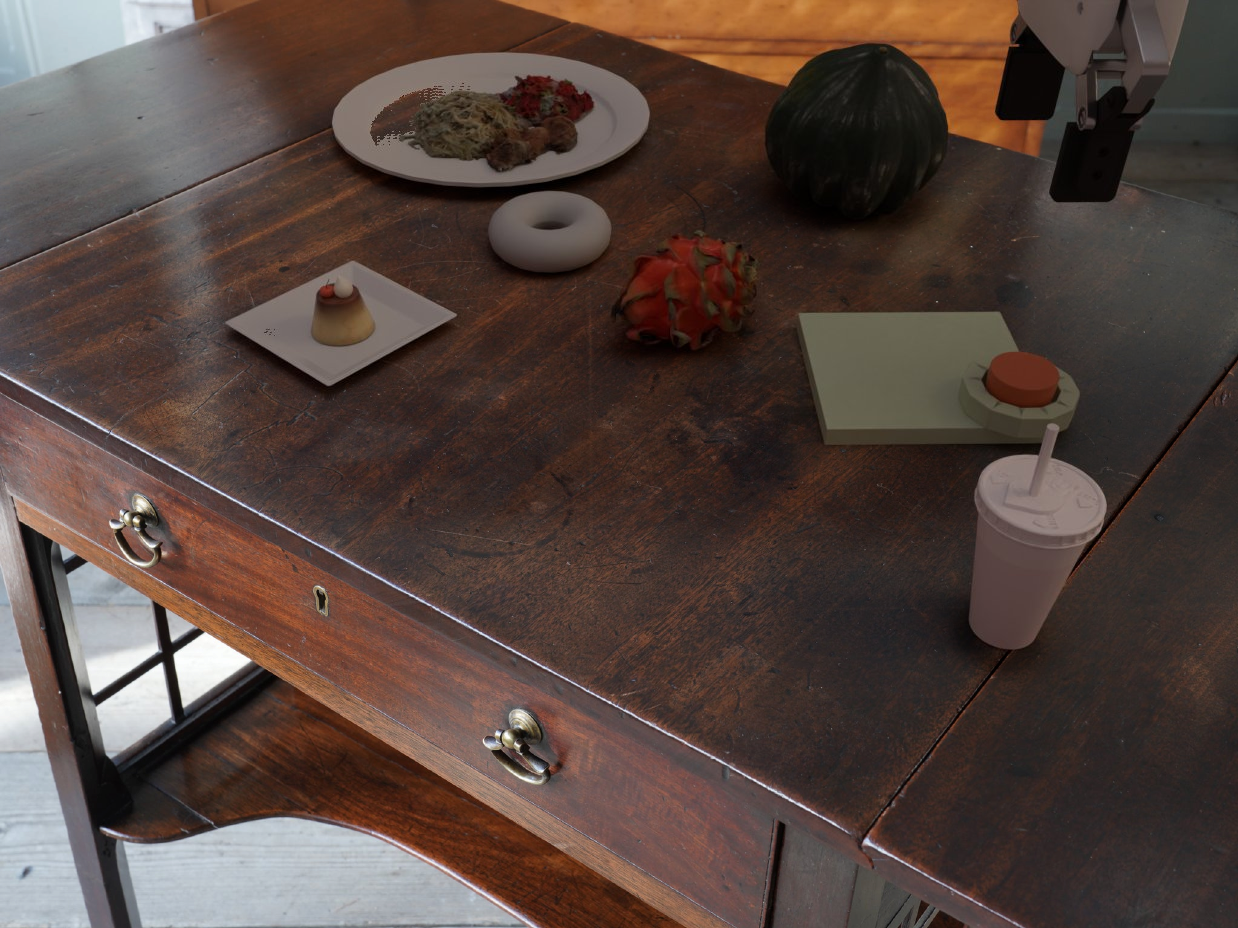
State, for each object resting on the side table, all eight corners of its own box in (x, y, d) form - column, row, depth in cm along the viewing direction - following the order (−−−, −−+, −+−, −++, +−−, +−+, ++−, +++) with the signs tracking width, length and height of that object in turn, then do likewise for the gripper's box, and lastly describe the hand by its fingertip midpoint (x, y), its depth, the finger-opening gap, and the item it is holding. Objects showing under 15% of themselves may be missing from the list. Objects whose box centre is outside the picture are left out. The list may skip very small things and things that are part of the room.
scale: (1018, 327, 91) (1026, 292, 89) (1082, 454, 79) (1093, 418, 77) (796, 328, 91) (800, 293, 89) (827, 457, 79) (832, 420, 77)
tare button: (1043, 370, 82) (1048, 350, 81) (1062, 409, 79) (1068, 389, 78) (978, 370, 82) (982, 351, 81) (995, 409, 79) (1000, 390, 78)
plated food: (270, 165, 111) (263, 130, 109) (433, 53, 132) (430, 21, 130) (571, 229, 102) (570, 192, 100) (693, 97, 123) (694, 65, 121)
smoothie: (921, 602, 69) (967, 403, 60) (1014, 571, 71) (1072, 373, 62) (990, 683, 64) (1052, 480, 55) (1087, 647, 66) (1161, 446, 57)
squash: (809, 81, 113) (791, -9, 99) (969, 117, 108) (974, 28, 94) (758, 221, 112) (731, 151, 97) (917, 263, 107) (914, 196, 93)
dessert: (226, 335, 89) (213, 278, 86) (354, 272, 96) (346, 217, 93) (330, 399, 83) (320, 340, 80) (459, 327, 90) (454, 271, 87)
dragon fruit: (766, 337, 92) (624, 394, 90) (718, 240, 94) (577, 293, 91) (799, 295, 84) (644, 356, 81) (745, 189, 86) (591, 246, 83)
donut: (465, 247, 100) (540, 294, 94) (461, 209, 98) (538, 254, 92) (559, 210, 105) (637, 252, 99) (558, 172, 103) (637, 213, 97)
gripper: (1319, -158, 47) (1183, 236, 58) (1152, -241, 61) (1067, 91, 71) (1129, -159, 47) (1028, 237, 58) (1003, -243, 60) (940, 92, 71)
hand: (1050, 156), depth 65 cm, fingers open, 9 cm apart
